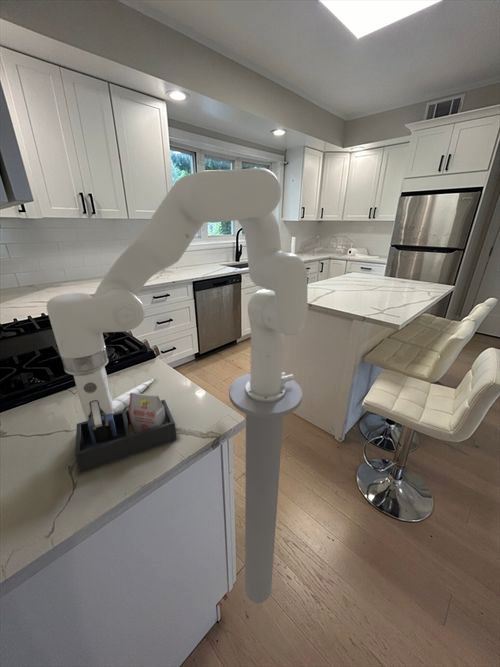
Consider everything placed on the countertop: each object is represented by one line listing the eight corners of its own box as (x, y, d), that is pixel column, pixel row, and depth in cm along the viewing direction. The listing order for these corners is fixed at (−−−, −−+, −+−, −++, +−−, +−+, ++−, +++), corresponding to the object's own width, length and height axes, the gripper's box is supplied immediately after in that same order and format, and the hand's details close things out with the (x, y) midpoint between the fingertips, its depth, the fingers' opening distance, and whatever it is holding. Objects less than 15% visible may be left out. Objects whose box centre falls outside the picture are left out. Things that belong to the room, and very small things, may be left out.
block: (114, 423, 63) (111, 407, 61) (116, 436, 60) (112, 419, 58) (92, 430, 61) (88, 413, 59) (92, 443, 58) (88, 426, 56)
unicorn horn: (164, 382, 86) (162, 369, 84) (101, 434, 65) (97, 418, 63) (151, 379, 87) (149, 366, 85) (86, 429, 67) (81, 413, 65)
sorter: (166, 413, 72) (164, 399, 70) (176, 439, 64) (174, 423, 62) (81, 439, 64) (76, 423, 62) (80, 472, 55) (75, 455, 54)
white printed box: (141, 422, 68) (135, 388, 64) (166, 426, 67) (162, 391, 63) (132, 433, 64) (125, 397, 61) (159, 437, 63) (153, 401, 59)
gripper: (110, 373, 48) (127, 452, 55) (104, 338, 62) (119, 405, 69) (58, 385, 45) (84, 467, 52) (65, 345, 58) (85, 415, 65)
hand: (104, 431), depth 60 cm, fingers closed on block, 4 cm apart
